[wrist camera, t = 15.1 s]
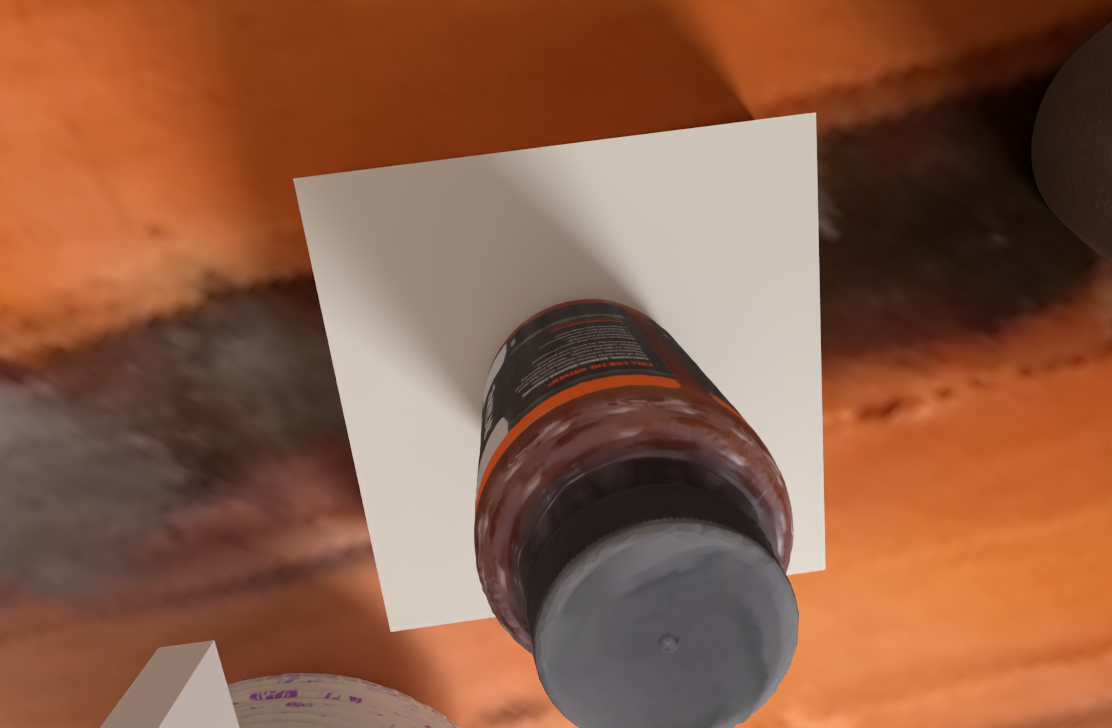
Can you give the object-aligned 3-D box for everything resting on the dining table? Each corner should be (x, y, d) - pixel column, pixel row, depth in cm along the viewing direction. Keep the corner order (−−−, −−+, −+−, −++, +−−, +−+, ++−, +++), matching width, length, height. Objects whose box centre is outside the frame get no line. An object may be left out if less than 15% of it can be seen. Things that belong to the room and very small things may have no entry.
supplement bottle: (440, 388, 21) (369, 637, 10) (597, 250, 20) (700, 360, 9) (575, 525, 23) (639, 867, 12) (727, 401, 22) (945, 646, 11)
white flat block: (755, 120, 25) (815, 112, 20) (771, 499, 28) (825, 569, 24) (335, 173, 24) (292, 178, 19) (410, 550, 28) (390, 632, 23)
